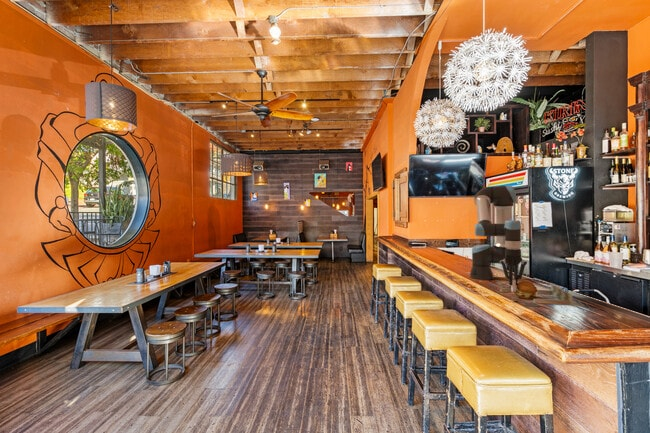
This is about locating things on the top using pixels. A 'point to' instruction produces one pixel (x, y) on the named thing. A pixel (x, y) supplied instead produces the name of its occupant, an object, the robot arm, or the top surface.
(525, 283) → the cheeseburger
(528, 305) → the mat
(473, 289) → the top surface
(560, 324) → the top surface
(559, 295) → the lane
